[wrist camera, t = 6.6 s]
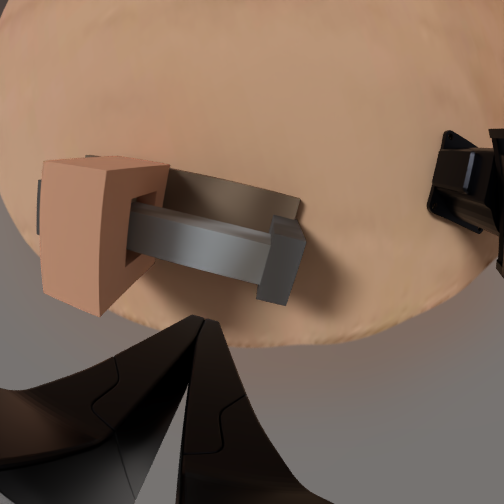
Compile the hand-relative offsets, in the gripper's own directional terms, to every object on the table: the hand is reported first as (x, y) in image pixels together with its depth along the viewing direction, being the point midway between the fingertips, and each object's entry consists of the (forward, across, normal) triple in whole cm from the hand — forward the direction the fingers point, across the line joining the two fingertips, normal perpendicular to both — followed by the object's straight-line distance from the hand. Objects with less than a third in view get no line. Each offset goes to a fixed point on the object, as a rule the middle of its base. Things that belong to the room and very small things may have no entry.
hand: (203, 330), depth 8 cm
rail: (+12, +5, 0) cm, 12 cm away
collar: (+12, +8, 0) cm, 14 cm away
